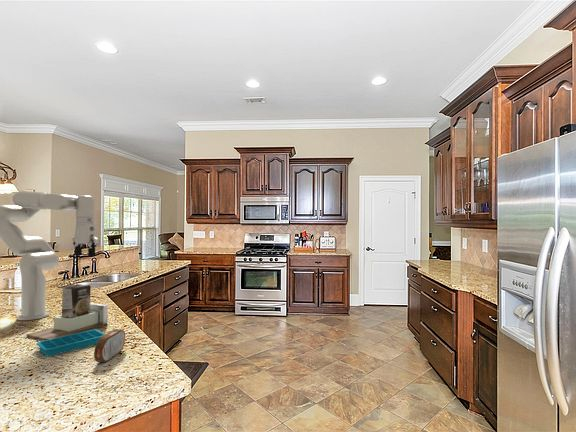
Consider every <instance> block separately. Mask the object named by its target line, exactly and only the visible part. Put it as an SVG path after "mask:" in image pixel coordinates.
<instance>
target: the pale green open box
mask: <svg viewBox="0 0 576 432" xmlns="http://www.w3.org/2000/svg"><path fill="white" fill-rule="evenodd" d="M97 323H98V312H96V311H90V314H86V315H82V316H78V317H74V318H71V319H69V318H63V317H62V314H61V315H58V316H57V315H56V316H53V327H54V329H57V330H63V331H68V332H70V331H73V330H76V329H80V328H83V327H86V326H90V325H93V324H97Z"/></svg>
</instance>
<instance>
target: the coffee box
mask: <svg viewBox="0 0 576 432" xmlns="http://www.w3.org/2000/svg"><path fill="white" fill-rule="evenodd" d="M91 287H92V286H91V285H90V284H89V285H88V284H79V285H74V286H69V287H63V288H62V293H61V294H62V295H61V296H62V297H61V300H62V301H61V315H62V317H63V318H69V319H71V318H74V317H78V316H82V315H86V314H90V303H91Z"/></svg>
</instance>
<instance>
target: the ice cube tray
mask: <svg viewBox="0 0 576 432" xmlns="http://www.w3.org/2000/svg"><path fill="white" fill-rule="evenodd" d="M105 334H106V333H105V332H103V331H100V330H99V329H98V328H96V329H93V330H89V331H85V332H80V333H76V334H71V335H67V336H63V337H58V338H54V339H49V340H45V341H42V340H39V341H38V342H36V345H37V346H38V347H39V351H40V352H41V353H43V355H45V356H46V357H51V356H56V355H60V354H63V353H68V352H70V351H74V350H78V349H83V348H87V347H92V346H93V345H95V346H96V344H97V342H98V340H99V339H100V338H101V337H102V336H103V335H105Z"/></svg>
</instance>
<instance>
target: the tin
mask: <svg viewBox="0 0 576 432" xmlns="http://www.w3.org/2000/svg"><path fill="white" fill-rule="evenodd" d="M125 343H126V333H125V331H124V330H123V329H117V328H114V329H113V330H111V331H108V332H107V333H105V335H103V336H102V337H101V338H100V339H99V340H98V342H97V344H95V346H94V350H93V358H94V361H95V362H97V363H107V362H109V361H110V360H112V358H114V357H116V356H117V355H119V354H120V353H121V352H122V350H123V348H124V346H125Z"/></svg>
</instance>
